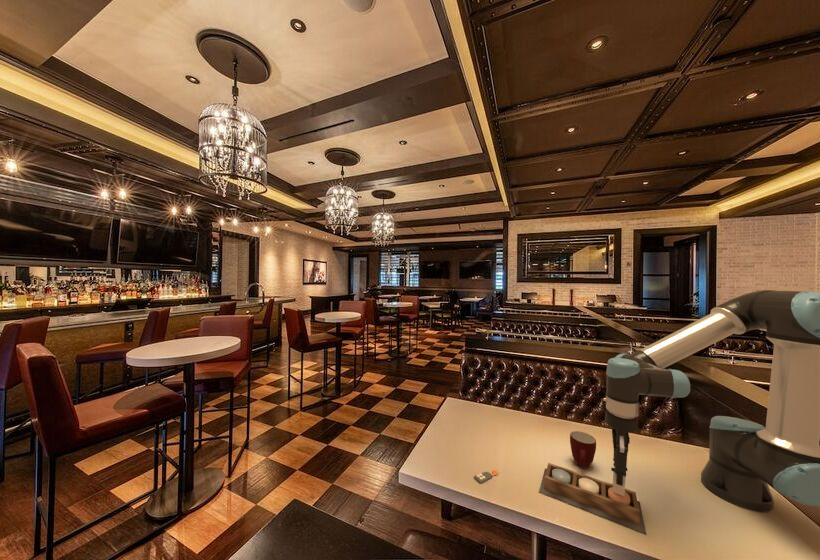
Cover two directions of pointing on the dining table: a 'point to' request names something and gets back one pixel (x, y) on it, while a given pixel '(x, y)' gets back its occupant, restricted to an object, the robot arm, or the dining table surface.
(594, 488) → the cream egg
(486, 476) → the key chain
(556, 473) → the slate egg
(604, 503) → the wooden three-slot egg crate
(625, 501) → the brown oval piece
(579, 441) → the mug
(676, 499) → the dining table surface
